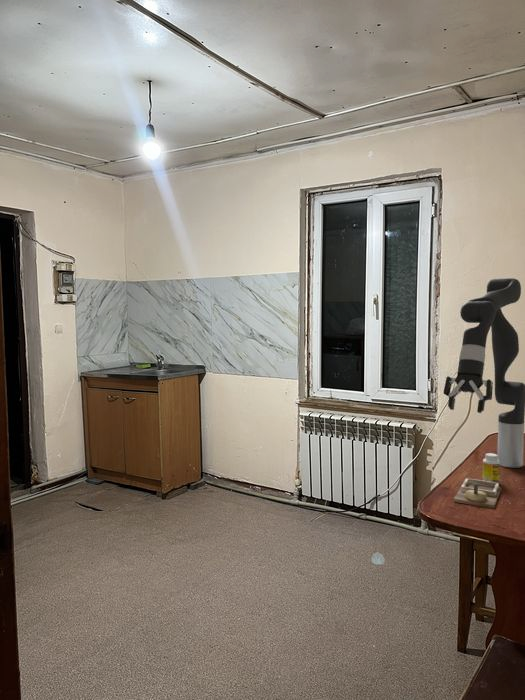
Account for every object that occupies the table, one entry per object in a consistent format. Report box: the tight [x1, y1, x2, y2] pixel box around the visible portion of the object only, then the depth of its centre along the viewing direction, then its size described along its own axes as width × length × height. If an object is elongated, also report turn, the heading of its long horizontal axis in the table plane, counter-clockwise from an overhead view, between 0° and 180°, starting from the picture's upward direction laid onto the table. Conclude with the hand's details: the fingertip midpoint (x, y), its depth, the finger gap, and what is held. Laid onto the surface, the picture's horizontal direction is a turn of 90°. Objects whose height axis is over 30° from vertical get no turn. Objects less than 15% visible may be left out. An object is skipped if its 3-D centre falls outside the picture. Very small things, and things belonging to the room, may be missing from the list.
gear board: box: [453, 477, 502, 509], centre depth 174 cm, size 19×12×6 cm, turn 149°
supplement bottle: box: [481, 452, 501, 484], centre depth 187 cm, size 6×6×10 cm
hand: (465, 411), depth 164 cm, fingers open, 8 cm apart
